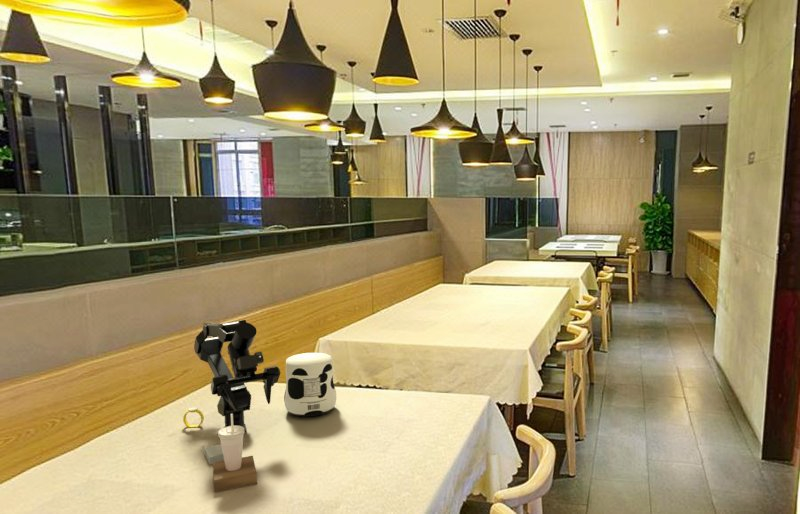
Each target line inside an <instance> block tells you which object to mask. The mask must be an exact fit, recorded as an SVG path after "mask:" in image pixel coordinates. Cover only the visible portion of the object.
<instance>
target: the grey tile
mask: <svg viewBox="0 0 800 514" xmlns="http://www.w3.org/2000/svg"><path fill="white" fill-rule="evenodd" d="M203 451H204V452H203V453H204V456H205V458H206V461H207V462H208V464H209V465H213V463H214V462H219V461H224V456H223V451H222V446H221V443H219V444H215V445H211V446H206V447H204V448H203Z"/></svg>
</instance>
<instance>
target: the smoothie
mask: <svg viewBox="0 0 800 514" xmlns="http://www.w3.org/2000/svg"><path fill="white" fill-rule="evenodd" d="M245 433H246V432H245V431H244V427H242V426H237V425H235V426H234V425H233V414H231V426H228V427H225V426H223V427H222V428H220V430H218V433H217V434H218V435H217V436H218V438H219V439H220V440H219V441H220V444H221V446H222V451H223V456H224V461H225V466H226V470H229V471H234V470H237V469H239V468H240V467H241V461H242V457H243V446H244V444H243V443H244V435H245Z"/></svg>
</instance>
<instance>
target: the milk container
mask: <svg viewBox="0 0 800 514" xmlns="http://www.w3.org/2000/svg"><path fill="white" fill-rule="evenodd" d="M333 374H334V369H333V359H332V355H330V354H328V353H324V352H305V353H299V354H294V355H291V356H288V358H286V360H285V381H286V382H285V384H286V385H285V390H284V391H285V392H284V397H283V399H284V400H283V401H284V407H285V409H286V411H287V412H288V413H290V414H291V415H294V416H298V417H315V416H321V415H323V414H326V413H328V412H330V411H332V410H333V409H334V408H335V406H336V405H337V404H336V403H337V390H336V387H335V384H334V375H333Z"/></svg>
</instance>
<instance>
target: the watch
mask: <svg viewBox="0 0 800 514" xmlns="http://www.w3.org/2000/svg"><path fill="white" fill-rule="evenodd" d="M188 413H197V414H198V415H199V416H200V419H201V421H200V423H199V424H190V423H189V422H188V420H187V414H188ZM204 418H205V417H204V414H203V412H202V411H201V410H200V409H198V407H189V408H188V410H187V411H185V413H184V415H183V417H182V420H183V421H182V422H183V424H184V425H185V426H186V427H187V428H199V427H200V426H201V425H202V424H203V422H204V420H205V419H204Z"/></svg>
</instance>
